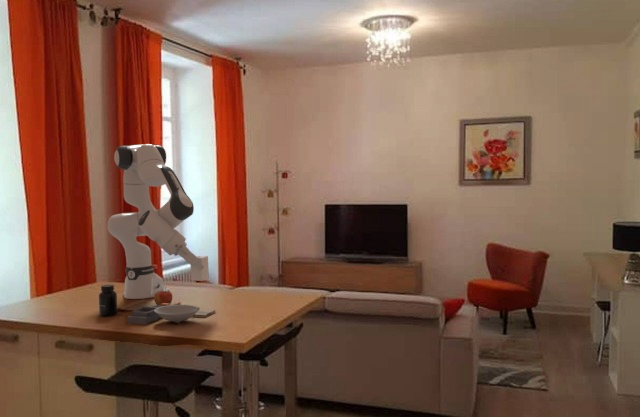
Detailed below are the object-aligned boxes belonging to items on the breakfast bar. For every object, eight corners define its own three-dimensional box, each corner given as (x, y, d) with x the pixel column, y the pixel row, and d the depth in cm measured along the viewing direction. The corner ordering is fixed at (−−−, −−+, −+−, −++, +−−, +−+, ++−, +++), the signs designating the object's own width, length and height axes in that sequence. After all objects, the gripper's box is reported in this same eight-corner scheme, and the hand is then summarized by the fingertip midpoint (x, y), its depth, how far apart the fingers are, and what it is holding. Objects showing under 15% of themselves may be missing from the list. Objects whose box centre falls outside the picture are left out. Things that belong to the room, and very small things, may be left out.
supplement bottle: (97, 317, 215) (96, 287, 214) (101, 313, 222) (99, 284, 221) (116, 316, 216) (114, 286, 216) (119, 312, 223) (117, 283, 222)
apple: (150, 308, 228) (150, 289, 228) (163, 304, 235) (162, 286, 234) (164, 310, 225) (163, 291, 224) (176, 306, 231) (175, 287, 231)
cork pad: (197, 311, 221) (197, 309, 221) (215, 312, 219) (215, 310, 219) (187, 316, 214) (186, 313, 214) (205, 317, 211) (204, 315, 211)
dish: (145, 325, 202) (145, 312, 201) (168, 315, 215) (168, 303, 215) (186, 329, 196) (186, 315, 195) (207, 318, 209) (207, 306, 209)
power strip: (167, 307, 230) (166, 297, 230) (183, 307, 228) (183, 298, 228) (127, 323, 206) (127, 312, 205) (145, 324, 203) (145, 313, 203)
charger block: (197, 278, 218) (196, 255, 218) (208, 278, 217) (207, 255, 216) (191, 280, 214) (190, 257, 213) (202, 280, 212) (201, 257, 212)
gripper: (183, 240, 202) (211, 264, 206) (177, 235, 221) (202, 257, 225) (171, 253, 201) (199, 277, 205) (166, 247, 220) (191, 269, 224)
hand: (201, 267), depth 215 cm, fingers closed on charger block, 7 cm apart
